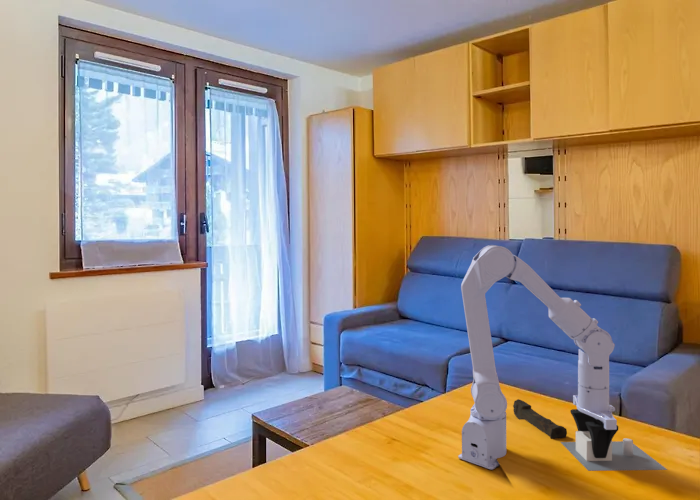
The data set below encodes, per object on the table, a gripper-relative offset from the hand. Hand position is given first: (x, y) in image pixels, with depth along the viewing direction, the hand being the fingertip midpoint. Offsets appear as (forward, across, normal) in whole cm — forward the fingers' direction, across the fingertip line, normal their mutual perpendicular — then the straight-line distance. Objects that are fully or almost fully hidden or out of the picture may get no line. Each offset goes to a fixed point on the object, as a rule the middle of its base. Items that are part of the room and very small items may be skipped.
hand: (593, 451), depth 103 cm
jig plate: (+2, 0, -4) cm, 4 cm away
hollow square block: (+1, 0, 0) cm, 1 cm away
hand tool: (+2, +18, +6) cm, 19 cm away
